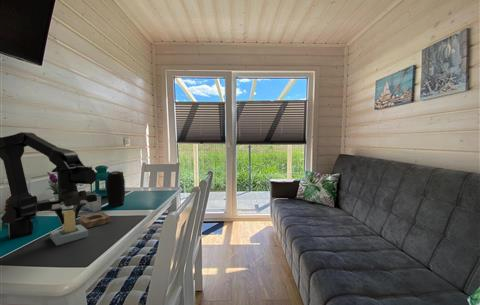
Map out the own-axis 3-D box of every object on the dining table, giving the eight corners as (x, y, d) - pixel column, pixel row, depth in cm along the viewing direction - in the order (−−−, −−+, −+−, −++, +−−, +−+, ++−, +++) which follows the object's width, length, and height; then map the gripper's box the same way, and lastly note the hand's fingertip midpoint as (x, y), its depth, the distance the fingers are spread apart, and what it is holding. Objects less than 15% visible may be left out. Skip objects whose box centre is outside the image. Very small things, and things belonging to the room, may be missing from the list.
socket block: (56, 245, 81) (56, 238, 81) (50, 237, 88) (49, 231, 87) (88, 236, 89) (88, 230, 89) (80, 229, 95) (80, 224, 95)
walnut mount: (86, 228, 97) (85, 222, 97) (78, 223, 103) (78, 217, 103) (110, 222, 104) (110, 216, 104) (102, 217, 111) (102, 212, 111)
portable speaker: (128, 204, 133) (127, 171, 132) (111, 208, 125) (110, 173, 124) (120, 202, 138) (119, 170, 137) (104, 205, 130) (103, 172, 129)
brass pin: (64, 234, 86) (63, 213, 85) (62, 231, 88) (61, 211, 87) (75, 231, 88) (75, 211, 88) (73, 229, 90) (72, 209, 90)
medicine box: (84, 210, 122) (84, 194, 122) (93, 207, 126) (92, 192, 126) (93, 212, 119) (92, 196, 118) (101, 209, 123) (101, 194, 122)
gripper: (39, 190, 75) (41, 236, 76) (101, 182, 89) (102, 221, 90) (33, 186, 82) (35, 228, 83) (91, 179, 96) (93, 215, 97)
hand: (68, 222), depth 88 cm, fingers closed on brass pin, 3 cm apart
